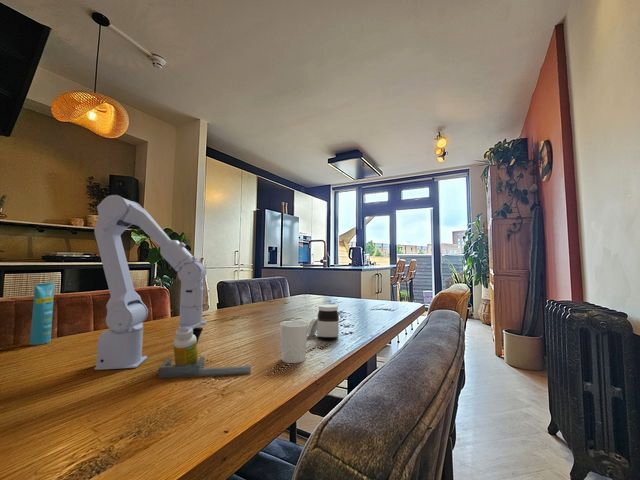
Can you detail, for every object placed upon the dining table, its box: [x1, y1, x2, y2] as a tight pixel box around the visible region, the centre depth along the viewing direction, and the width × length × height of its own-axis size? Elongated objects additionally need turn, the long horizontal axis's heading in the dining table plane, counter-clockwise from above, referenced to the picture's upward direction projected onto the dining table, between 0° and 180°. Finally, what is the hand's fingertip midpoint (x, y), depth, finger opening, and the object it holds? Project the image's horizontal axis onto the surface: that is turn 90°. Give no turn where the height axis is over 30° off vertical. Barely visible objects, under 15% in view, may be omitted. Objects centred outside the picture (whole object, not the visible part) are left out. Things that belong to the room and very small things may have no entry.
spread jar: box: [307, 303, 340, 342], centre depth 107 cm, size 12×11×12 cm
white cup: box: [279, 320, 309, 364], centre depth 84 cm, size 8×8×10 cm
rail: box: [157, 356, 252, 379], centre depth 74 cm, size 21×6×2 cm, turn 101°
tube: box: [29, 281, 55, 346], centre depth 95 cm, size 7×5×19 cm, turn 13°
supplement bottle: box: [172, 327, 199, 365], centre depth 76 cm, size 5×5×10 cm
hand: (189, 356), depth 80 cm, fingers closed
